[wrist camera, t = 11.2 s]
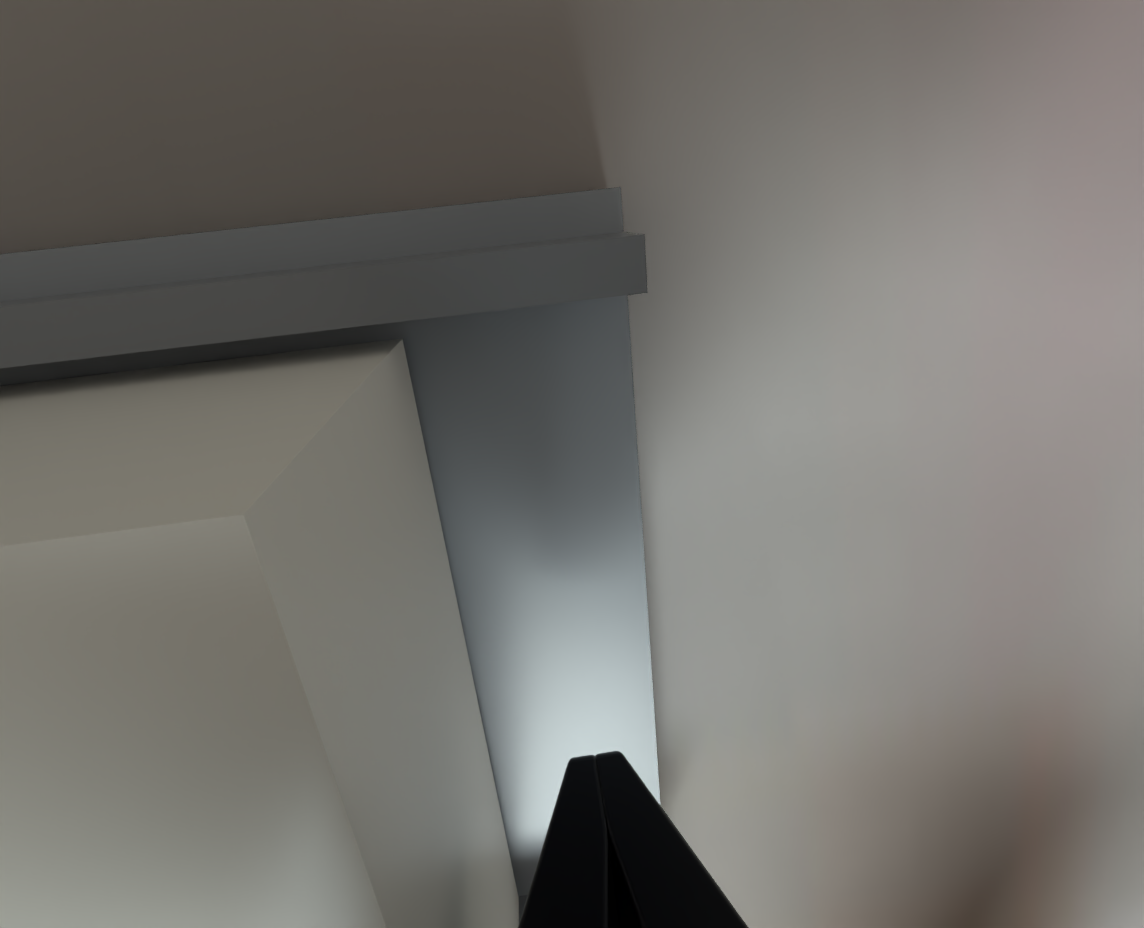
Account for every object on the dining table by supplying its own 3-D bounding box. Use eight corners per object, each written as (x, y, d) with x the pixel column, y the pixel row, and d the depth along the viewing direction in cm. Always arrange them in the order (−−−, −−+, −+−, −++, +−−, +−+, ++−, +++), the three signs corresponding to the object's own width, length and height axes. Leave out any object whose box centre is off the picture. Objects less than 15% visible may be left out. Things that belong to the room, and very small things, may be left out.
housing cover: (107, 966, 13) (-161, 1461, 8) (-252, 416, 8) (-1530, 747, 3) (518, 897, 14) (524, 1325, 8) (402, 338, 9) (244, 514, 4)
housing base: (-234, 1005, 15) (-421, 1202, 12) (-916, 355, 9) (-1651, 426, 6) (655, 859, 16) (689, 1005, 13) (608, 191, 10) (650, 178, 7)
